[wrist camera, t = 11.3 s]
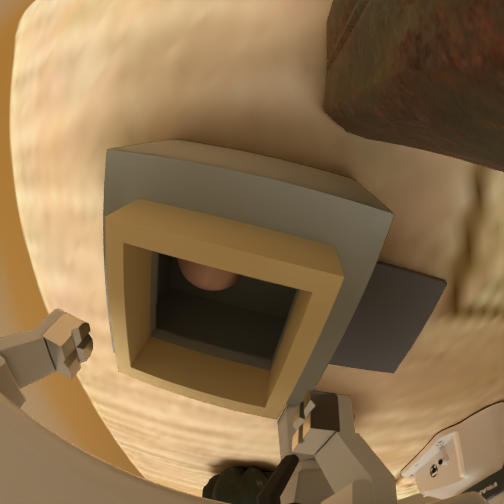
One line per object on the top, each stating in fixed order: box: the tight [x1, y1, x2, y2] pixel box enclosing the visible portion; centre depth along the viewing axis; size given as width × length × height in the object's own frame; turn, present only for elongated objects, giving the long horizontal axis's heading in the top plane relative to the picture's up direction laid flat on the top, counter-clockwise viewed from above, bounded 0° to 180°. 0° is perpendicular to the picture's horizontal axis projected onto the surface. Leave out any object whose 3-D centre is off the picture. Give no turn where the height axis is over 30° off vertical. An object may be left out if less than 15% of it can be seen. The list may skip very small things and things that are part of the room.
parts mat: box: [328, 261, 447, 373], centre depth 21 cm, size 10×8×1 cm
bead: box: [177, 258, 243, 291], centre depth 17 cm, size 4×4×4 cm
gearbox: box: [103, 139, 394, 419], centre depth 16 cm, size 15×12×10 cm
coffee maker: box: [256, 405, 355, 504], centre depth 19 cm, size 15×9×18 cm, turn 33°
